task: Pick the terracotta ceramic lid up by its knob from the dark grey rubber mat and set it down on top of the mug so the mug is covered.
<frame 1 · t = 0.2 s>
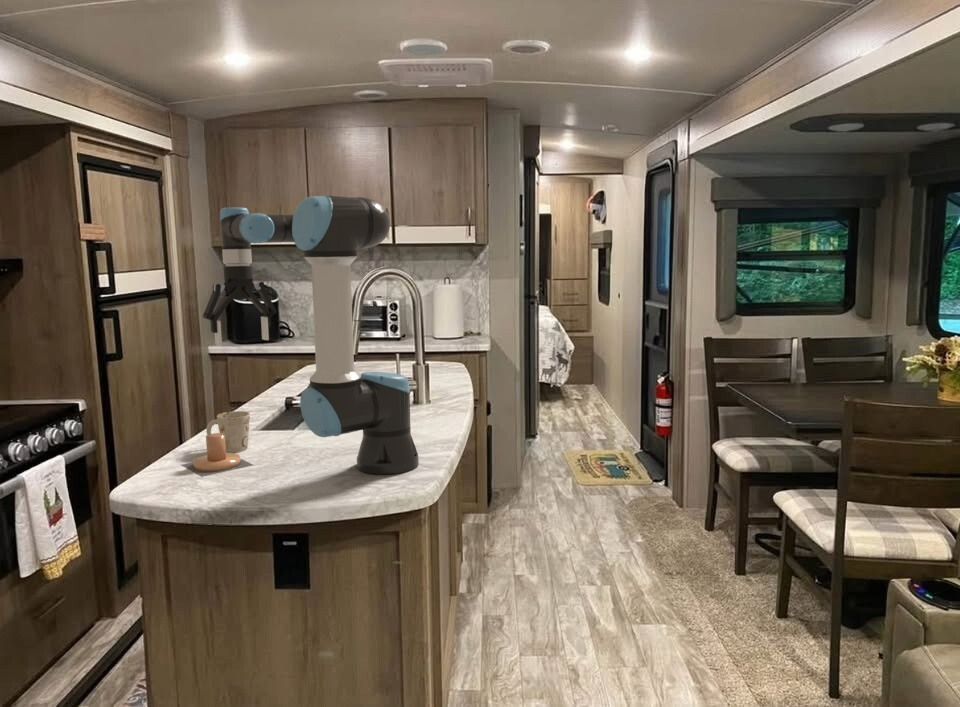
hand: (242, 342, 206), 28 cm above the countertop, fingers open, 13 cm apart
mug: (228, 451, 199), on the countertop
mat: (217, 466, 185), on the countertop
lid: (217, 464, 184), resting on mat
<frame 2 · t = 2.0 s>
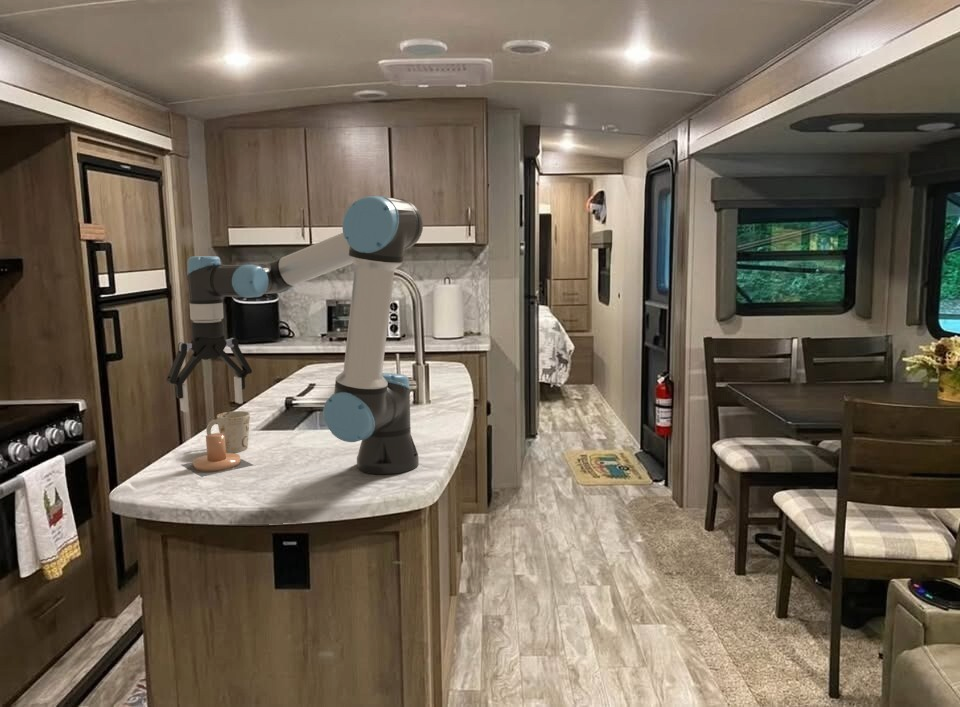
hand: (212, 406, 182), 15 cm above the countertop, fingers open, 13 cm apart
nothing on the countertop moved.
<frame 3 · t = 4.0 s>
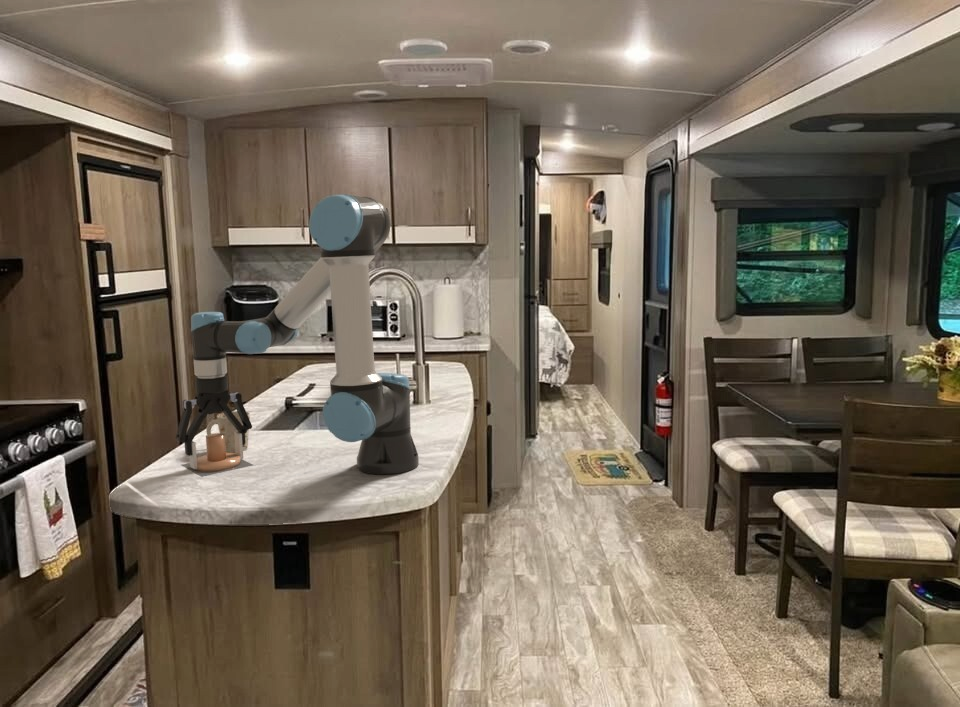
hand: (217, 462, 184), 1 cm above the countertop, fingers closed on lid, 11 cm apart
lid: (217, 464, 184), resting on mat, touching gripper
everything else where it was.
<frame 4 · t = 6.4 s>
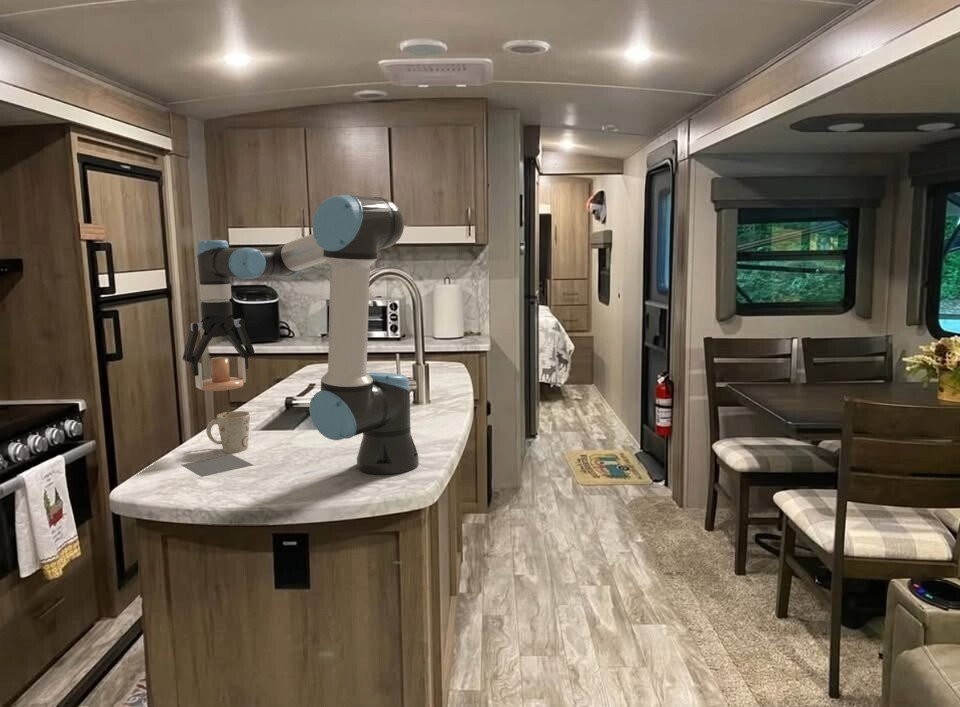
hand: (221, 384, 194), 18 cm above the countertop, fingers closed on lid, 11 cm apart
lid: (221, 386, 194), point 18 cm above the countertop, touching gripper
everything else where it was.
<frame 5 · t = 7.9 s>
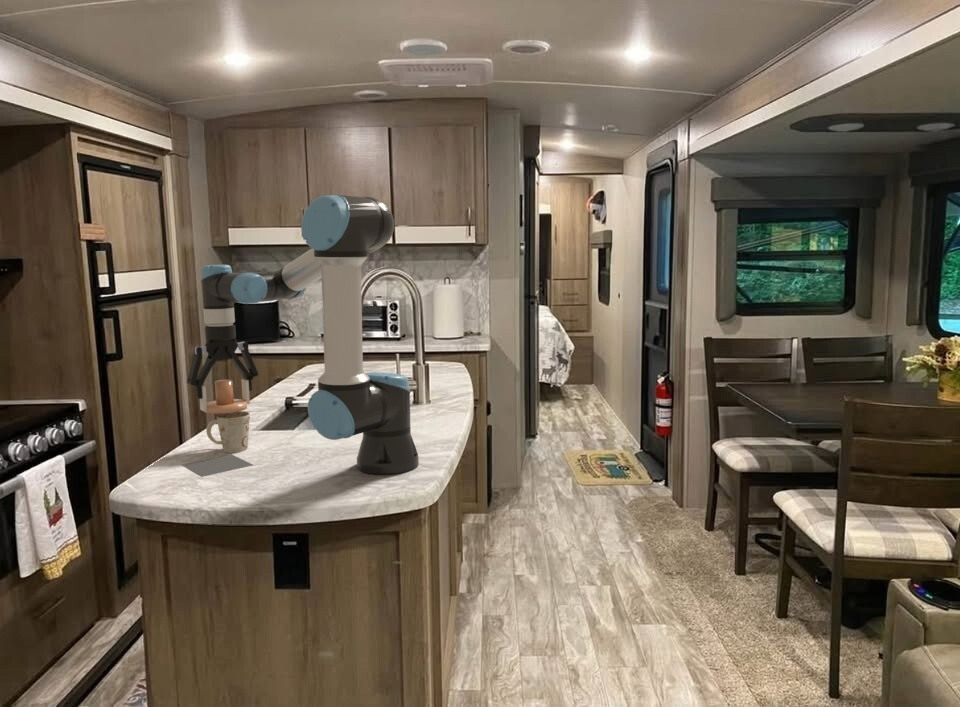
hand: (225, 407, 197), 12 cm above the countertop, fingers closed on lid, 11 cm apart
lid: (225, 408, 197), point 11 cm above the countertop, touching gripper
everything else where it was.
when the fingers open (12 cm above the countertop, at t = 8.9 s): lid drops 1 cm, resting on mug.
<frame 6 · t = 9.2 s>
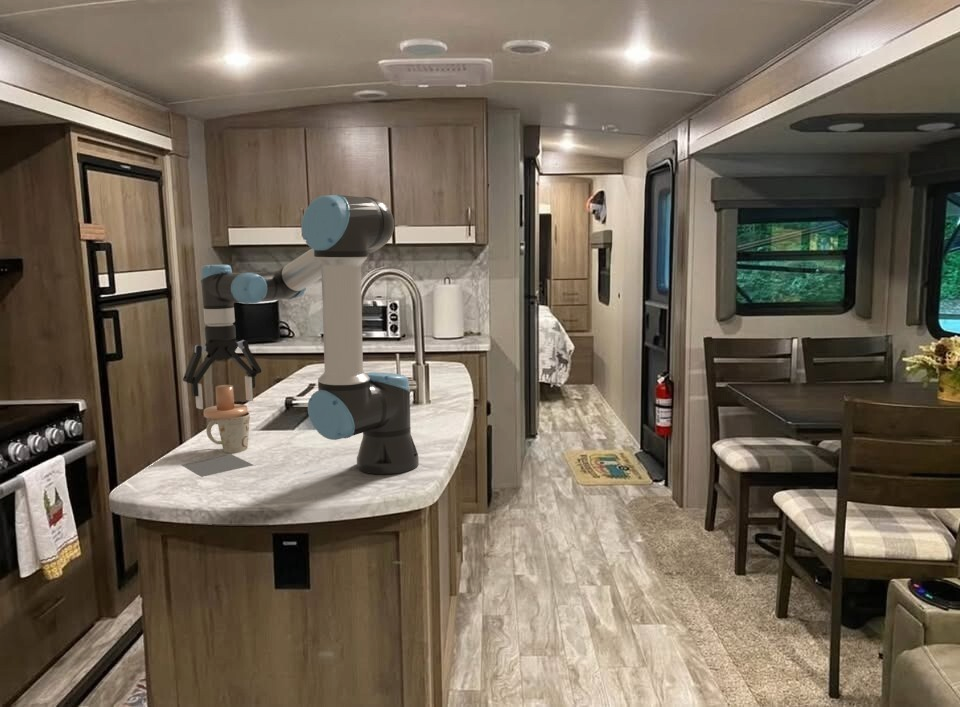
hand: (225, 404, 197), 13 cm above the countertop, fingers open, 13 cm apart
mug: (228, 451, 199), on the countertop, touching lid
lid: (226, 414, 197), point 10 cm above the countertop, touching mug
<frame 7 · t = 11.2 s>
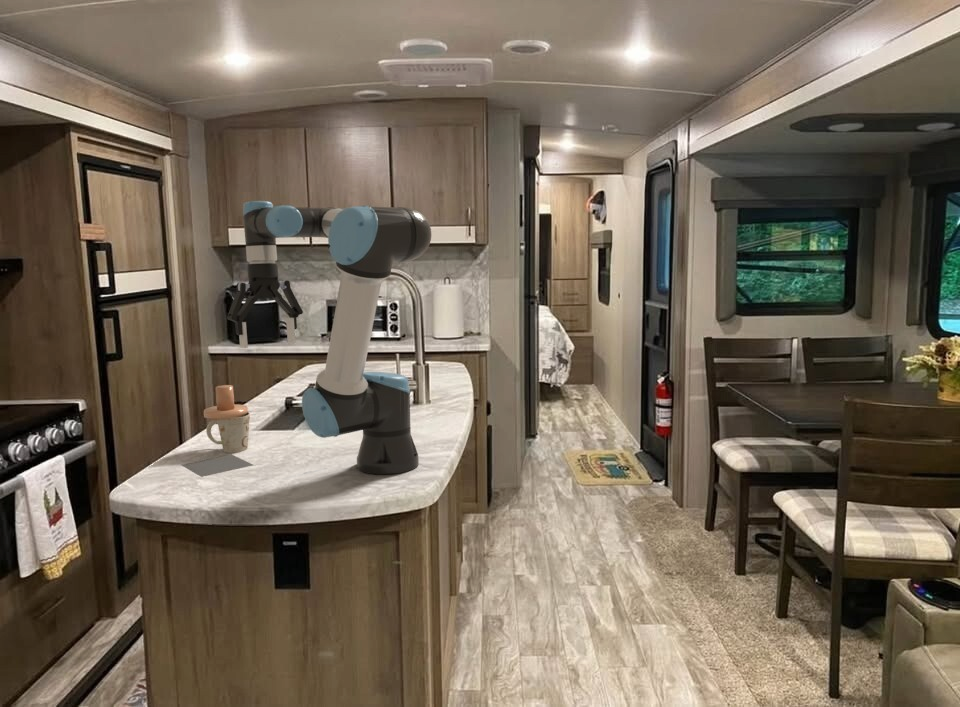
hand: (268, 344, 194), 28 cm above the countertop, fingers open, 13 cm apart
nothing on the countertop moved.
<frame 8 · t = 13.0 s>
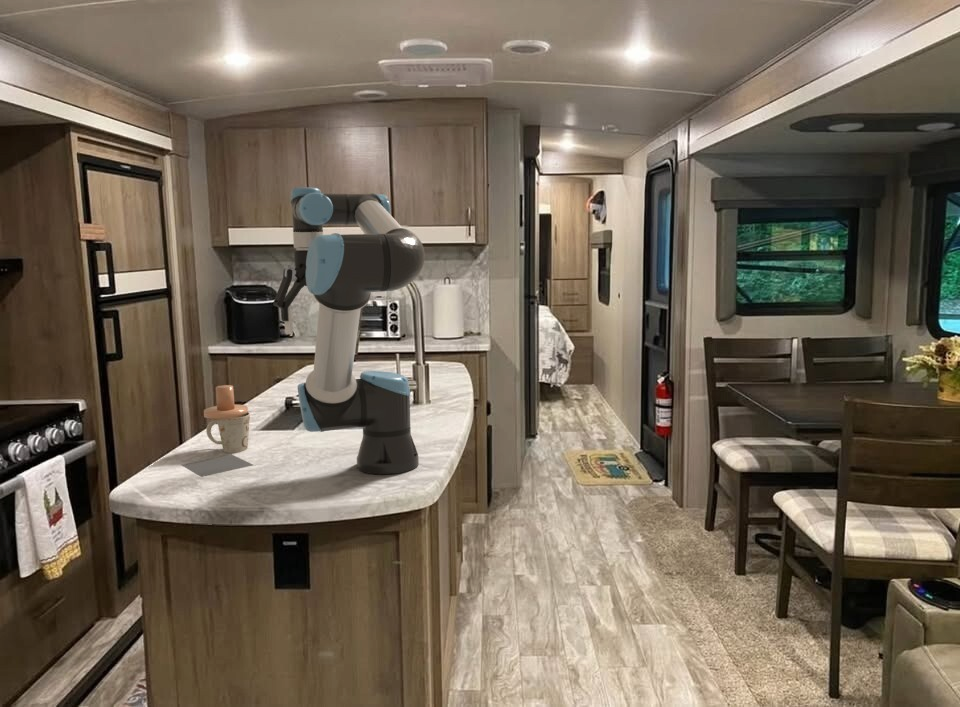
hand: (312, 331, 194), 32 cm above the countertop, fingers open, 13 cm apart
nothing on the countertop moved.
at the end: lid 0.1 cm from the mug (horizontally); lid point 10.0 cm above the countertop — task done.
